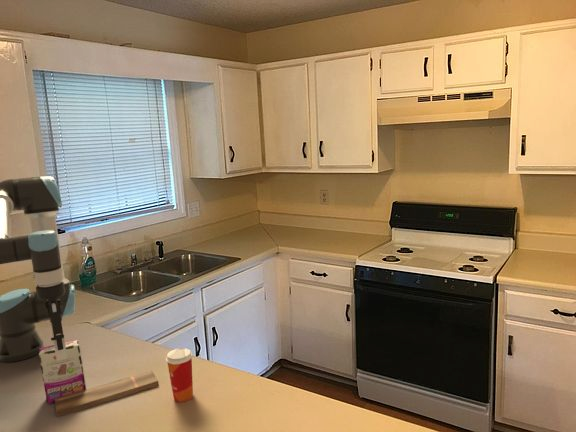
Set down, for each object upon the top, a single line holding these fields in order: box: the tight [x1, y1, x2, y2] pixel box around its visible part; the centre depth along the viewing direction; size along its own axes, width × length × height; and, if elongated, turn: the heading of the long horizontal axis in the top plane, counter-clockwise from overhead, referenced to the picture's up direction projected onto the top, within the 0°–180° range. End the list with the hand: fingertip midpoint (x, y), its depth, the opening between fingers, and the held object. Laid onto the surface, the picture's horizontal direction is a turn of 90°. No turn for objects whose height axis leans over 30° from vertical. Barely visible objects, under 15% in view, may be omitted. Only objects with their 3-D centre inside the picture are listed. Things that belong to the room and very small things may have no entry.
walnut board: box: [54, 370, 160, 418], centre depth 144 cm, size 8×29×2 cm, turn 120°
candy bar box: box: [38, 339, 87, 405], centre depth 144 cm, size 11×5×16 cm, turn 115°
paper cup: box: [165, 347, 194, 403], centre depth 139 cm, size 8×8×14 cm
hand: (60, 350), depth 142 cm, fingers open, 13 cm apart
